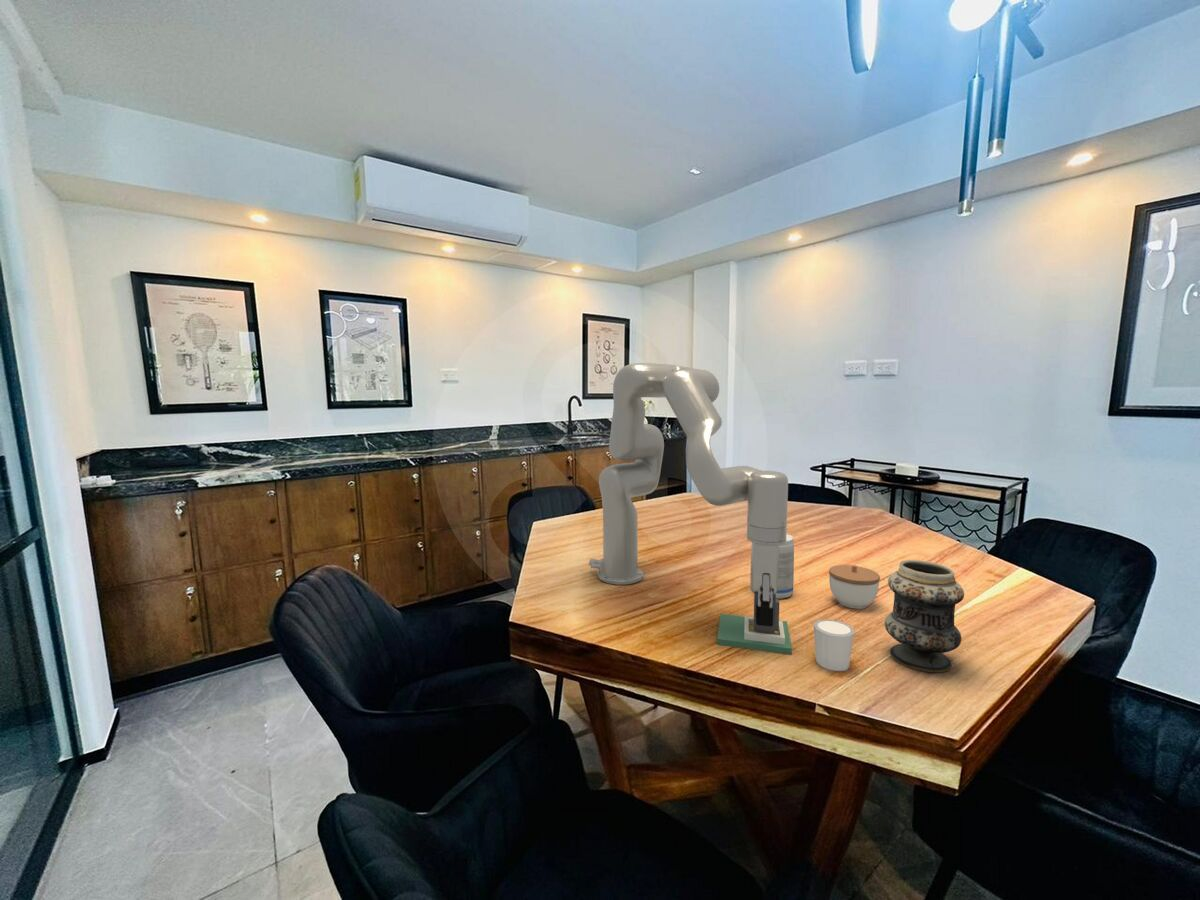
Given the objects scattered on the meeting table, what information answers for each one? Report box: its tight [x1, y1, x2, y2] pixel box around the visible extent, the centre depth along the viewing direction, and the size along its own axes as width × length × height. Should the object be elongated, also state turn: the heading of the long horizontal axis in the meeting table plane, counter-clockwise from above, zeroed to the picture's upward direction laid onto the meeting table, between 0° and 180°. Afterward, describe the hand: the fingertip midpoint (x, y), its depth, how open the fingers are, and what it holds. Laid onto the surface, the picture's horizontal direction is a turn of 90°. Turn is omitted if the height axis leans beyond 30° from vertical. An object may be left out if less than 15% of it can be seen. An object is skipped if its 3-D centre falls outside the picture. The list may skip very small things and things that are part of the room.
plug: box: [753, 588, 780, 633], centre depth 99 cm, size 5×4×8 cm
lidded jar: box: [828, 564, 881, 610], centre depth 116 cm, size 11×11×9 cm
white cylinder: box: [813, 618, 855, 672], centre depth 90 cm, size 7×7×7 cm
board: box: [716, 613, 793, 655], centre depth 101 cm, size 14×12×3 cm
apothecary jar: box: [883, 559, 965, 674], centre depth 91 cm, size 12×12×18 cm
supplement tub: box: [769, 533, 795, 599], centre depth 123 cm, size 10×10×15 cm
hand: (763, 619), depth 100 cm, fingers closed on plug, 3 cm apart
